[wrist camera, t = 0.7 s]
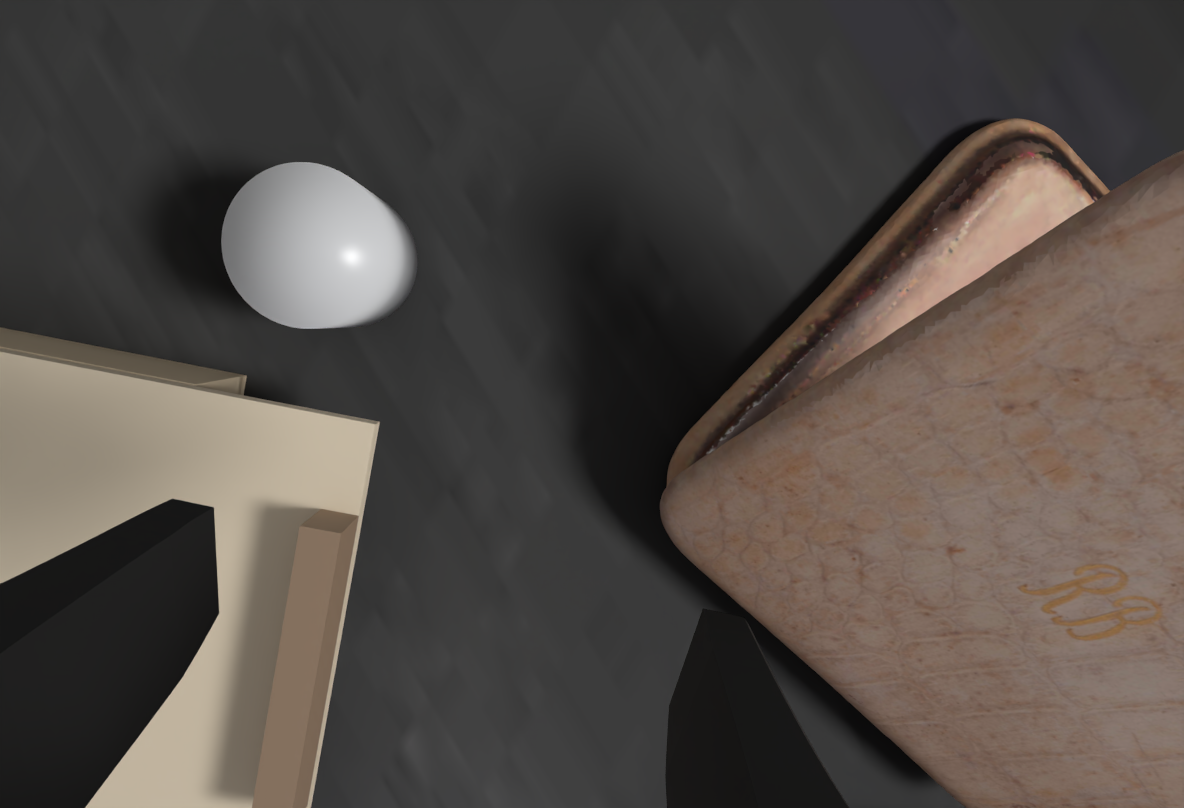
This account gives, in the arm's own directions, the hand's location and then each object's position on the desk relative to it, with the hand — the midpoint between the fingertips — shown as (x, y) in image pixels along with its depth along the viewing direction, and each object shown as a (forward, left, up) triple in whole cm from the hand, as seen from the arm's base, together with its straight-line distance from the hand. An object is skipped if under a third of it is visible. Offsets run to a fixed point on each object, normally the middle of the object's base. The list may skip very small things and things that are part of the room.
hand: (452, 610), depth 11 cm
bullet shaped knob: (+5, +7, -18) cm, 20 cm away
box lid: (-8, +11, -14) cm, 19 cm away
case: (+2, -19, -18) cm, 26 cm away
